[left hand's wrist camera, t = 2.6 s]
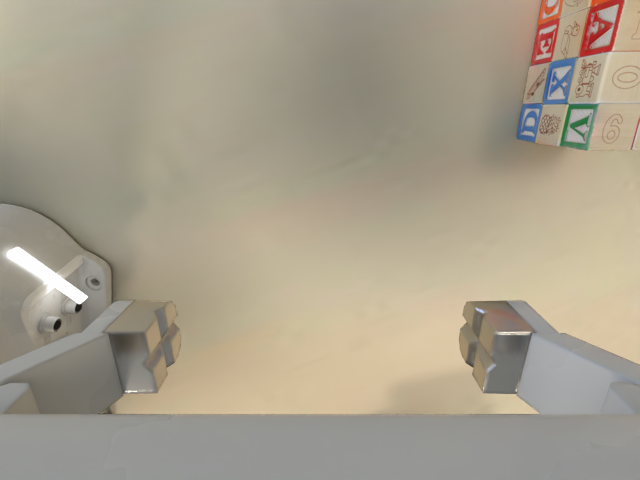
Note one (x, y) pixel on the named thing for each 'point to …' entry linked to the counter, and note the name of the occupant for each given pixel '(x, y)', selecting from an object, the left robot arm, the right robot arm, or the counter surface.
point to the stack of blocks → (584, 76)
